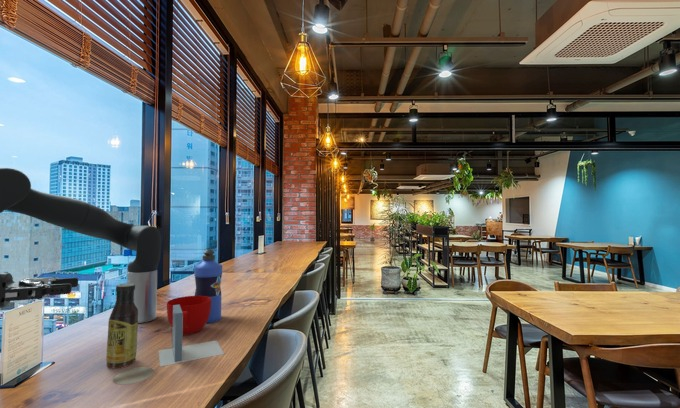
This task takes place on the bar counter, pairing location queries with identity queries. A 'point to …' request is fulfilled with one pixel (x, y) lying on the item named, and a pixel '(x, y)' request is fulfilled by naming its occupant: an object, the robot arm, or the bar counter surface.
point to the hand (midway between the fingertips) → (74, 285)
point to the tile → (177, 333)
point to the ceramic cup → (191, 312)
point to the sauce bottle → (122, 329)
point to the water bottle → (209, 283)
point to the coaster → (133, 375)
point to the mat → (191, 352)
